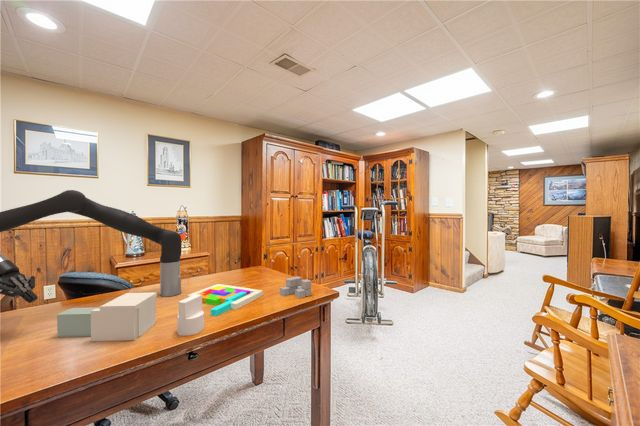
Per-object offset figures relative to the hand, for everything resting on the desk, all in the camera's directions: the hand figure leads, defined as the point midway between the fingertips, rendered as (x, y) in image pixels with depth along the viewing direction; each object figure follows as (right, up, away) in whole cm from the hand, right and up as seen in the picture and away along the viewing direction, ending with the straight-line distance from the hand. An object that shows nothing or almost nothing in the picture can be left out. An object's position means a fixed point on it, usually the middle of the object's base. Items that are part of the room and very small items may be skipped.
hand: (34, 300), depth 95 cm
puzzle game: (+53, -12, +36) cm, 65 cm away
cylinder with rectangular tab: (+54, -13, +4) cm, 56 cm away
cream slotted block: (+31, -12, +3) cm, 33 cm away
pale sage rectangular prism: (+16, -12, +2) cm, 20 cm away
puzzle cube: (+90, -12, +45) cm, 101 cm away
